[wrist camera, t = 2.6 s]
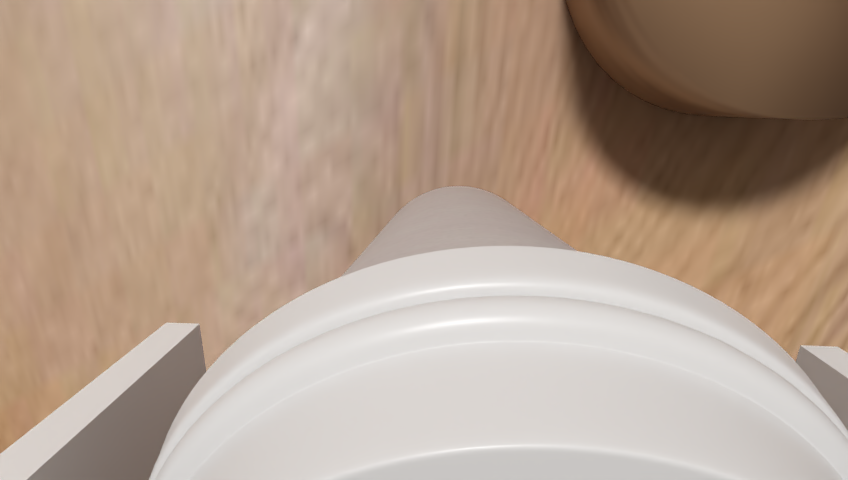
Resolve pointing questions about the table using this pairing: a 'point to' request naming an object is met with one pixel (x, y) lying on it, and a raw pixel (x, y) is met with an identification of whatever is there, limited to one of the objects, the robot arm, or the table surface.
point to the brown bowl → (724, 54)
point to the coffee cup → (501, 371)
